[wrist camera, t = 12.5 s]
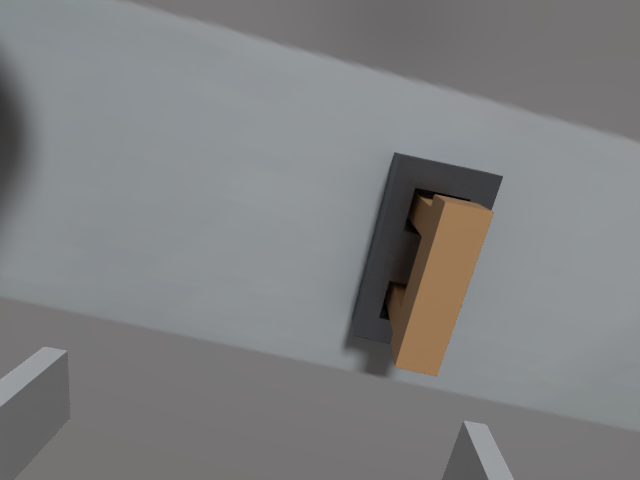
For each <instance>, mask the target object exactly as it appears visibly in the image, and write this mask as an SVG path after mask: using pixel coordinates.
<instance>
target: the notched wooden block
mask: <svg viewBox="0 0 640 480" xmlns="http://www.w3.org/2000/svg"><path fill="white" fill-rule="evenodd" d="M493 213H494V212H493V211H491V210H489V209H487V208H485V207H483V206H481V205H479V204H478V203H473V202H468V201H464V200H459V199H455V198H450V197H445V196H441V195H436V194H434V196H430V195H425V194H421V193H416V192H414V194H413V198H412V201H411V205H410V209H409V212H408V216H407V217H408V218H409V220H410V221H411V222H412V224H413V225H414V226H415V228H416V229H417V230H418V232H419V233H420V235H421V236H422V238H421V241H420V245H419V248H418V252H417V255H416V258H415V262H414V265H413V268H412V272H411V275H410V279H409V282H408V285H407V284H403V283H398V282H394V281H389V284H388V287H387V291H386V294H385V300H386V305H387V309H388V313H389V318H390V322H391V327H392V331H393V336H392V339H391V343H390V345H391V350H392V355H393V360H394V365H395V367H397V368H401V369H406V370H410V371H415V372H419V373H424V374H428V375H433V376H437V374H438V372H439V369H440V366H441V363H442V360H443V357H444V354H445V351H446V349H447V346H448V343H449V340H450V337H451V334H452V331H453V328H454V326H455V323H456V320H457V317H458V314H459V311H460V308H461V305H462V302H463V300H464V297H465V294H466V291H467V288H468V285H469V282H470V279H471V277H472V274H473V271H474V268H475V265H476V262H477V259H478V256H479V254H480V251H481V248H482V245H483V242H484V239H485V236H486V233H487V231H488V228H489V225H490V222H491V219H492V216H493Z"/></svg>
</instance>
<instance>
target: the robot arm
mask: <svg viewBox="0 0 640 480" xmlns="http://www.w3.org/2000/svg"><path fill="white" fill-rule="evenodd" d="M69 419H70V401H69V376H68V351H66V350H61V349H55V348H49V347H43V348H42V349H40V350H39V351H38V352H36V353H35V354H34V355H32V356H31V357H30V358H28V359H27V360H26V361H24V362H23V363H22V364H21V365H19V366H18V367H17V368H15V369H14V370H12V371H11V372H10V373H9V374H7V375H6V376H5V377H3V378H2V379H1V380H0V480H14V479H15V478H16V477H17V476H18V475H19V473H20V472H21V471H22V470H23V469H24V468H25V467H26V466H27V465H28V464H29V462H30V461H31V460H32V459H33V458H34V457H35V456H36V455H37V454H38V453H39V452H40V450H41V449H42V448H43V447H44V446H45V445H46V444H47V443H48V442H49V441H50V439H52V437H53V436H54V435H55V434H56V433H57V432H58V431H59V429H61V428H62V426H63V425H64V424H65V423H66V422H67V421H68V420H69ZM442 480H514V479H513V477H512V475H511V473H510V471H509V469H508V467H507V465H506V463H505V461H504V459H503V457H502V455H501V453H500V451H499V449H498V447H497V445H496V443H495V441H494V439H493V437H492V435H491V434H490V431H489V429H488V427H487V425H485V424H480V423H473V422H468V421H463V423H462V426H461V429H460V431H459V434H458V437H457V440H456V442H455V445H454V448H453V451H452V453H451V456H450V459H449V462H448V464H447V467H446V470H445V473H444V475H443V478H442Z"/></svg>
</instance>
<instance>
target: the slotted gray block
mask: <svg viewBox="0 0 640 480" xmlns="http://www.w3.org/2000/svg"><path fill="white" fill-rule="evenodd" d="M502 178H503V176H499V175H495V174H492V173H488V172H483V171H479V170H474V169H469V168H465V167H460V166H455V165H451V164H446V163H441V162H437V161H432V160H427V159H423V158H418V157H413V156H409V155H404V154H399V153H394V157H393V161H392V165H391V168H390V172H389V176H388V180H387V184H386V188H385V192H384V196H383V200H382V204H381V208H380V211H379V215H378V219H377V223H376V227H375V231H374V235H373V239H372V243H371V247H370V250H369V254H368V258H367V262H366V266H365V270H364V274H363V278H362V282H361V286H360V290H359V293H358V297H357V301H356V305H355V309H354V313H353V336H358V337H362V338H367V339H371V340H376V341H380V342H385V343H389V344H390V343H391V339H392V336H393V331H392V327H391V322H390V318H389V313H388V309H387V305H386V303H384V298H385V294H386V291H387V287H388V284H389V281H394V282H398V283H403V284H407V285H408V282H409V279H410V275H411V272H412V268H413V265H414V262H415V258H416V255H417V252H418V248H419V245H420V241H421V238H422V236H421V235H420V233H419V232H418V230H417V229H416V228H415V226H414V225H412V224H407V223H406V219H407V216H408V212H409V209H410V205H411V201H412V198H413V194H414V191H415V188H419V189H424V190H429V191H433V192H438V193H443V194H447V195H452V196H457V197H456V199H459V200H464V201H468V202H473V203H478V204H479V205H481V206H483V207H485V208H487V209H489V210H492V207H493V204H494V201H495V198H496V196H497V193H498V190H499V187H500V184H501V181H502Z"/></svg>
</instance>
